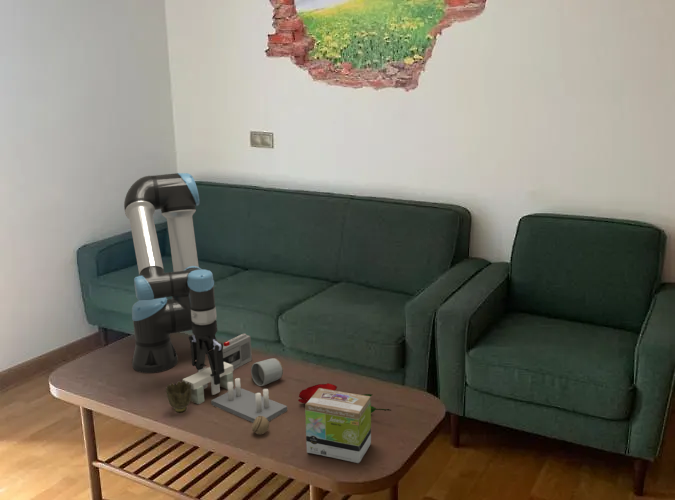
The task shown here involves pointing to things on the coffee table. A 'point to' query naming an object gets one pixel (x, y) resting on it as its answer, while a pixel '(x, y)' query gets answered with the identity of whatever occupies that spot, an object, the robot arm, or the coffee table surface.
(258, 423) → the walnut
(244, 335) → the cassette player
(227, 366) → the shelf board
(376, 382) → the coffee table surface
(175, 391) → the cup
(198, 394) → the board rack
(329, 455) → the tea box
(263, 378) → the ceramic mug
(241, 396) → the peg stand
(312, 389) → the flower
